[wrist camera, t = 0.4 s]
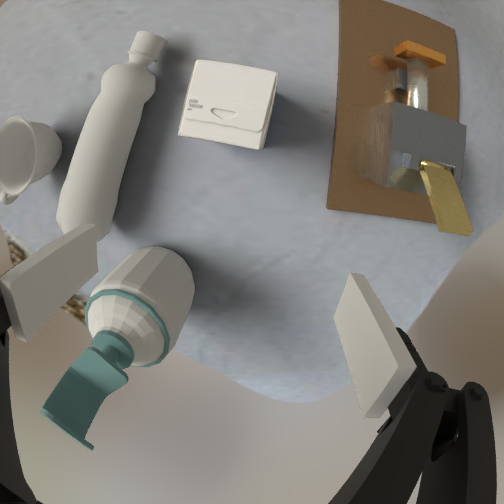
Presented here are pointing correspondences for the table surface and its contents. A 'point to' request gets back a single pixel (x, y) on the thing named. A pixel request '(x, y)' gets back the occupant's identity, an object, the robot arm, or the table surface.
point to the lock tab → (445, 198)
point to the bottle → (108, 139)
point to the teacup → (25, 155)
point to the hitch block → (391, 113)
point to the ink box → (229, 104)
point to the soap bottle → (123, 333)
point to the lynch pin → (418, 71)
